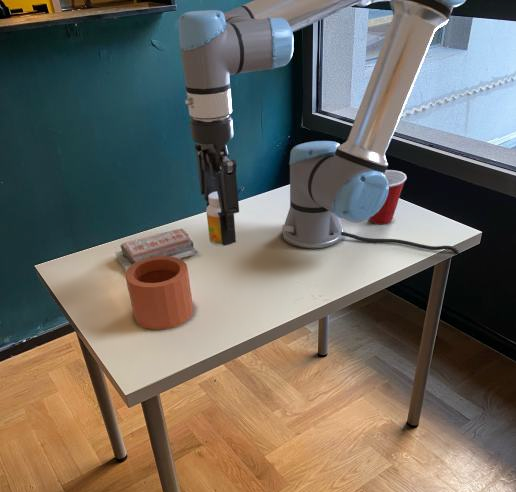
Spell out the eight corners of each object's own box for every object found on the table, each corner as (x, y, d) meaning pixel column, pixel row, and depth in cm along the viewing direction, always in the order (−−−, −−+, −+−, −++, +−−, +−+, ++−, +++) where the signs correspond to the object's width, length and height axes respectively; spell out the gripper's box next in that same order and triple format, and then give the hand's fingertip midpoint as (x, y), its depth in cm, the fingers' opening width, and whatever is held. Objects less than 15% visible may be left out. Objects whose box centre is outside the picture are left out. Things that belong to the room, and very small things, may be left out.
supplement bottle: (206, 238, 106) (200, 192, 100) (230, 232, 107) (226, 187, 101) (214, 249, 102) (209, 202, 96) (240, 243, 103) (236, 196, 97)
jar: (198, 297, 111) (193, 256, 105) (186, 330, 102) (179, 287, 96) (144, 296, 113) (135, 255, 107) (127, 328, 103) (116, 286, 97)
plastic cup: (355, 213, 143) (359, 170, 135) (393, 210, 143) (399, 167, 136) (365, 230, 134) (369, 185, 127) (405, 227, 135) (412, 182, 127)
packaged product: (180, 222, 131) (196, 237, 124) (182, 240, 134) (198, 255, 127) (111, 240, 124) (124, 257, 117) (115, 258, 127) (128, 275, 120)
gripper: (172, 109, 95) (188, 225, 109) (212, 132, 82) (225, 261, 96) (209, 102, 98) (220, 217, 112) (253, 124, 84) (260, 250, 99)
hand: (222, 237), depth 104 cm, fingers closed on supplement bottle, 5 cm apart
